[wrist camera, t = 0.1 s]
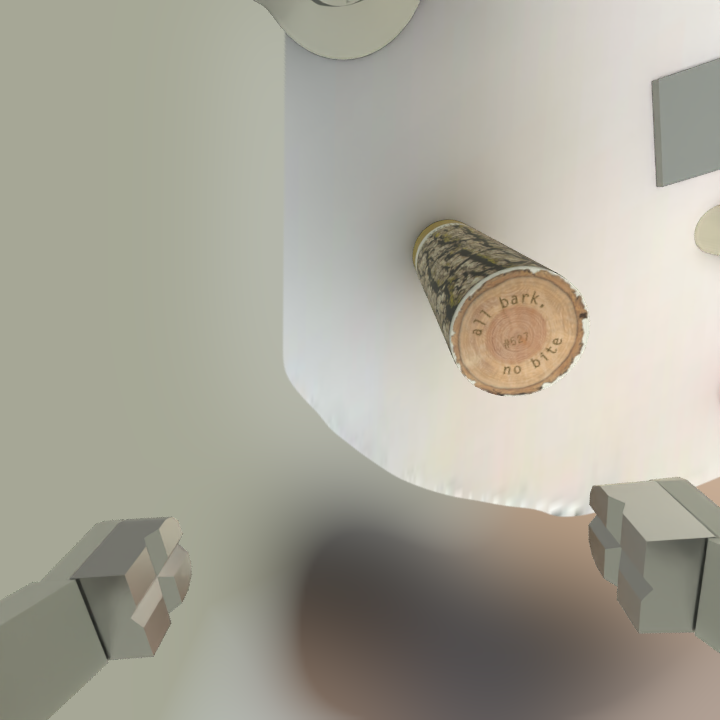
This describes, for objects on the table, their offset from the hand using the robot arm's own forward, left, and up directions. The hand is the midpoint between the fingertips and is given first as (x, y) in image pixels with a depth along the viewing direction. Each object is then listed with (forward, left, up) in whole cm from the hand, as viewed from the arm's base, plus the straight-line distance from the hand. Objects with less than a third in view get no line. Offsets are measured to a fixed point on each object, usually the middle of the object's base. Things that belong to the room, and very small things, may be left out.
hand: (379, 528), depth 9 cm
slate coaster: (-7, +31, -39) cm, 50 cm away
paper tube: (+2, +7, -39) cm, 40 cm away
